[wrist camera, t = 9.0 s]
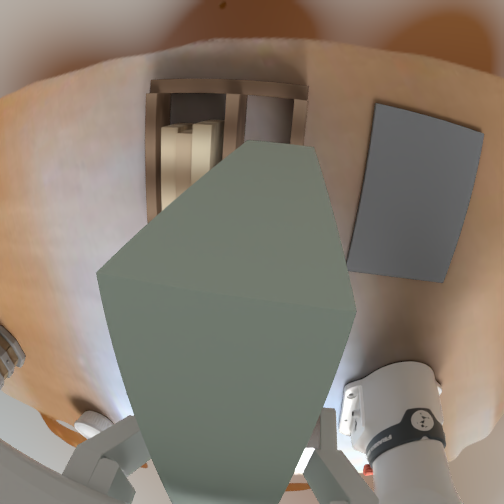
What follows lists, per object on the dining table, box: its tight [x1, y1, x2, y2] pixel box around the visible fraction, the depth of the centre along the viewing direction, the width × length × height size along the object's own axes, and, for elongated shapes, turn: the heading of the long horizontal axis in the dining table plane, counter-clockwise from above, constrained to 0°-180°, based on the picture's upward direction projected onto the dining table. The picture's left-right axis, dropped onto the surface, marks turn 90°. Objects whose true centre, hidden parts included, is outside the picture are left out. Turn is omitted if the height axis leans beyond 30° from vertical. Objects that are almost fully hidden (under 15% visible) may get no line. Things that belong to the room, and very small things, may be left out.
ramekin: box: [74, 411, 114, 439], centre depth 66 cm, size 11×11×5 cm
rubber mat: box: [346, 103, 484, 283], centre depth 33 cm, size 20×14×1 cm
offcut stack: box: [161, 119, 225, 211], centre depth 33 cm, size 12×5×6 cm, turn 176°
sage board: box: [96, 140, 357, 504], centre depth 12 cm, size 14×3×12 cm, turn 176°
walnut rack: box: [145, 79, 309, 223], centre depth 33 cm, size 21×16×6 cm
